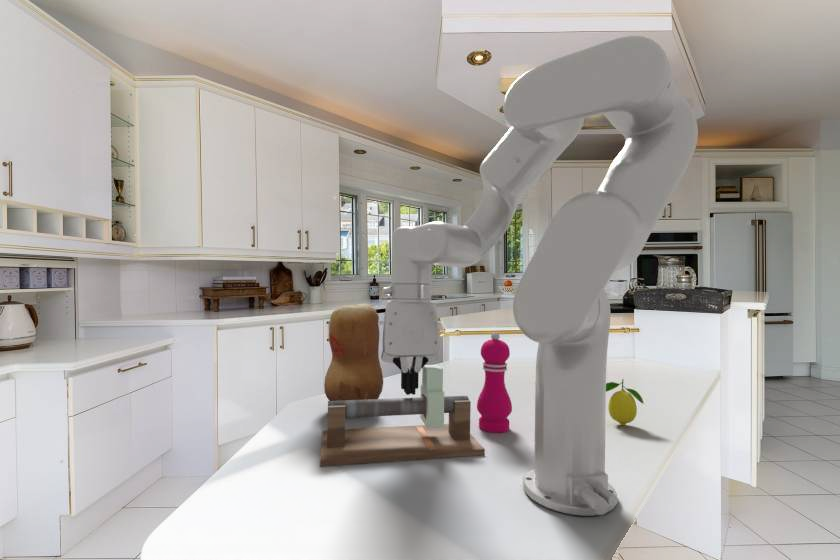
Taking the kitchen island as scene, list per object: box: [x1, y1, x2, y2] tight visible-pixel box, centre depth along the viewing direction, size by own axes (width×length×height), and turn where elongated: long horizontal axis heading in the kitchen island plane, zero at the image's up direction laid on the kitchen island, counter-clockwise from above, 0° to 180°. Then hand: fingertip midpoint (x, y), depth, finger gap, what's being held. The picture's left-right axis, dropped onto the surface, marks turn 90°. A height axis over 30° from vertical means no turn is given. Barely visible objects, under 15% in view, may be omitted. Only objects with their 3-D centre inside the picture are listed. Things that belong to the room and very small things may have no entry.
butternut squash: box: [323, 303, 384, 401], centre depth 97 cm, size 14×13×25 cm
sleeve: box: [419, 364, 445, 429], centre depth 78 cm, size 6×3×10 cm, turn 12°
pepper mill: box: [476, 331, 513, 434], centre depth 87 cm, size 7×7×20 cm
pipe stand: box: [319, 395, 486, 467], centre depth 77 cm, size 14×28×9 cm, turn 102°
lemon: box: [606, 378, 644, 426], centre depth 90 cm, size 7×6×10 cm
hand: (409, 392), depth 78 cm, fingers closed
